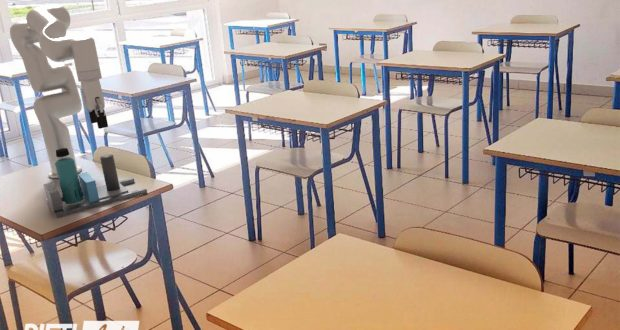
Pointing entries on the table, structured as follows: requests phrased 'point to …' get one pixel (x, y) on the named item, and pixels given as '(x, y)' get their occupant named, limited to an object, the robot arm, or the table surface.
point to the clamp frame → (57, 207)
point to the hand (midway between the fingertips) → (99, 124)
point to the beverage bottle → (68, 177)
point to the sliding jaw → (111, 182)
